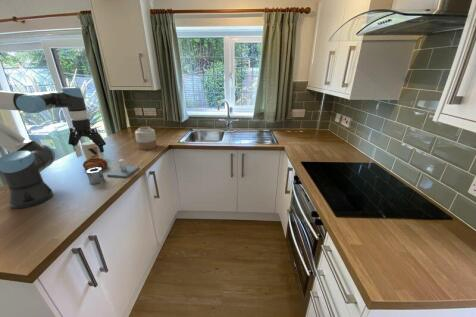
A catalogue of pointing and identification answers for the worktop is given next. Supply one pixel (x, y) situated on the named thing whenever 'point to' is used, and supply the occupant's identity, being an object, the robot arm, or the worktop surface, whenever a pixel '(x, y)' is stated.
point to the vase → (145, 138)
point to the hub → (95, 175)
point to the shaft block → (123, 170)
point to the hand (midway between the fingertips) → (91, 157)
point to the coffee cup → (90, 150)
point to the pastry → (95, 163)
